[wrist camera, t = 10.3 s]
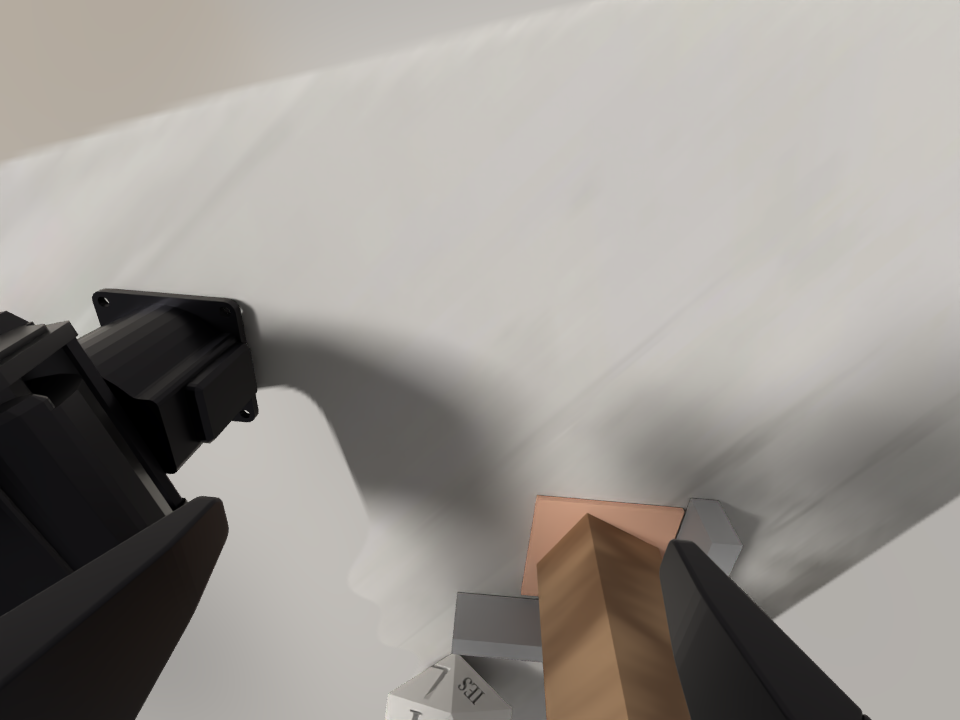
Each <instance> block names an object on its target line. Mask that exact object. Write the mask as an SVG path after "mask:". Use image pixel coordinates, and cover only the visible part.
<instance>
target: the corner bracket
mask: <svg viewBox="0 0 960 720" xmlns="http://www.w3.org/2000/svg"><path fill="white" fill-rule="evenodd" d="M676 539H683V540H691V541H693V542H694V543H696V544H697V545H698V546H699V547H700V548H701V549H702V550H703V551H704V552H705V553H706V554H707V555H708V556H709V557H710V558H711V559H712V560H713V561H714V562H715V563H716V564H717V565H718V566H719V567H720V568H721V569H722V570H723V571H724V572H725V573H726V574H727V575H728V576H729V575H730V573H731V571H732V568H733V566H734V564H735V562H736V560H737V558H738V556H739V553H740V551H741V549H742V547H743V545H742V543H741V541H740V539H739V537H738V535H737V534H736V532H735V530H734V528H733V526H732V524H731V522H730V521H729V519H728V517H727V515H726V513H725V511H724V510H723V508H722V506H721V504H720V502H719V501H716V500H705V499H693V498H691V499H690V502H689V505H688V507H687V510H686V513H685V515H684V518H683V521H682V524H681V526H680V529H679V532H678V534H677V537H676ZM452 654H457V655H468V656H479V657H490V658H501V659H511V660H522V661H533V662H543V656H542V641H541V625H540V610H539V600H536V599H524V598H513V597H502V596H491V595H480V594H469V593H458V592H457V601H456V611H455V621H454V630H453V641H452Z"/></svg>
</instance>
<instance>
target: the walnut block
mask: <svg viewBox="0 0 960 720" xmlns="http://www.w3.org/2000/svg"><path fill="white" fill-rule="evenodd" d="M661 562H662V557H661V554H660V551H659V548H657V547H655V546H653V545H651V544H649V543H647V542H645V541H643V540H641V539H639V538H637V537H635V536H633V535H631V534H629V533H627V532H625V531H623V530H621V529H619V528H617V527H615V526H613V525H611V524H609V523H607V522H605V521H603V520H601V519H599V518H597V517H595V516H593V515H591V514H589V513H586V514H585V515H584V516H583V517H582V518H581V519H580V520H579V521H578V522H577V524H576V525H575V526H574V527H573V528H572V529H571V530H570V531H569V532H568V533H567V534H566V535H565V536H564V537H563V538H562V539H561V540H560V541H559V542H558V543H557V544H556V545H555V546H554V547H553V548H552V549H551V550H550V551H549V552H548V553H547V554H546V555H545V556H544V557H543V558H542V559H541V560H540V561H539V562H538V563H537V579H538V595H539V610H540V625H541V641H542V656H543V671H544V686H545V702H546V717H547V720H691V718H690V714H689V711H688V707H687V704H686V700H685V697H684V693H683V690H682V686H681V682H680V679H679V675H678V672H677V668H676V664H675V660H674V656H673V651H672V646H671V640H670V634H669V629H668V623H667V617H666V612H665V606H664V600H663V595H662V589H661V583H660V576H659V570H660V565H661Z"/></svg>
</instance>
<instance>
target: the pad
mask: <svg viewBox="0 0 960 720" xmlns="http://www.w3.org/2000/svg"><path fill="white" fill-rule="evenodd" d="M586 513H589V514H591V515H593V516H595V517H597V518H599V519H601V520H603V521H605V522H607V523H609V524H611V525H613V526H615V527H617V528H619V529H621V530H623V531H625V532H627V533H629V534H631V535H633V536H635V537H637V538H639V539H641V540H643V541H645V542H647V543H649V544H651V545H653V546H655V547H657V548H659V551H660V554H661V557H662V559H663V557H664V554H665V551H666V548H667V546H668V543H669V541H670V540H672V539H675V536H676V533H677V531H678V528H679V525H680V523H681V520H682V517H683V514H684V510H683V508H676V507H664V506H653V505H642V504H630V503H619V502H607V501H596V500H585V499H573V498H562V497H550V496H539V495H537V498H536V504H535V511H534V517H533V523H532V529H531V535H530V541H529V547H528V553H527V559H526V565H525V571H524V577H523V583H522V589H521V595H530V596H539V595H538V579H537V563H538V562H539V561H540V560H541V559H542V558H543V557H544V556H545V555H546V554H547V553H548V552H549V551H550V550H551V549H552V548H553V547H554V546H555V545H556V544H557V543H558V542H559V541H560V540H561V539H562V538H563V537H564V536H565V535H566V534H567V533H568V532H569V531H570V530H571V529H572V528H573V527H574V526H575V525H576V524H577V522H578V521H579V520H580V519H581V518H582V517H583V516H584V515H585V514H586Z"/></svg>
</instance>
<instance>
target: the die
mask: <svg viewBox="0 0 960 720" xmlns="http://www.w3.org/2000/svg"><path fill="white" fill-rule="evenodd" d="M512 711H513V709H512V708H511V707H510V706H509V705H508V704H507V703H506V702H505V701H504V700H503V699H502V698H501V697H500V696H499V695H498V694H497V693H496V691H495V690H494V689H493V688H492V687H491V686H490V685H489V684H488V683H487V682H486V681H485V680H484V679H483V678H482V677H481V676H480V675H479V674H478V673H477V672H476V671H475V670H474V669H473V668H472V667H471V666H470V665H469V664H468V663H467V662H466V661H465V660H464V659H463V658H462V657H461V656H460V655H457V654H450V655H449V656H447V657H445V658H444V659H442V660H441V661H439V662H438V663H436V664H434V665H433V666H431V667H430V668H428V669H426V670H425V671H423V672H422V673H420V674H418V675H417V676H415V677H414V678H412V679H411V680H409V681H407V682H406V683H404V684H403V685H401V686H400V687H398V688H396V689H395V690H393V691H391V692H390V693H388V699H387V707H386V715H385V720H511V717H512Z"/></svg>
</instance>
